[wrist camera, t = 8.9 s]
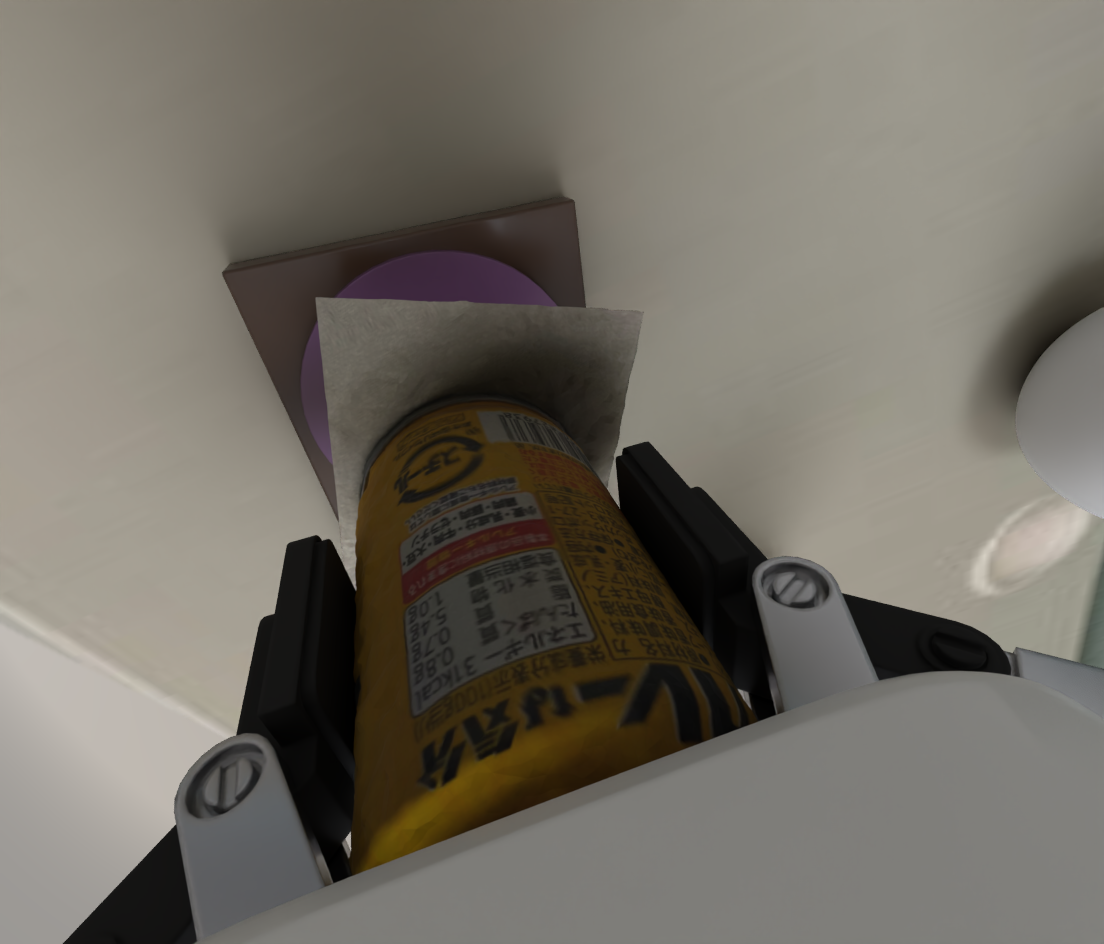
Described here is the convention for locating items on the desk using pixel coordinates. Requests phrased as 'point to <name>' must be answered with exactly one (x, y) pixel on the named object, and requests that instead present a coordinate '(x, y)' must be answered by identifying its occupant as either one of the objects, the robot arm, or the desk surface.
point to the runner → (399, 292)
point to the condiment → (497, 568)
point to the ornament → (1067, 415)
